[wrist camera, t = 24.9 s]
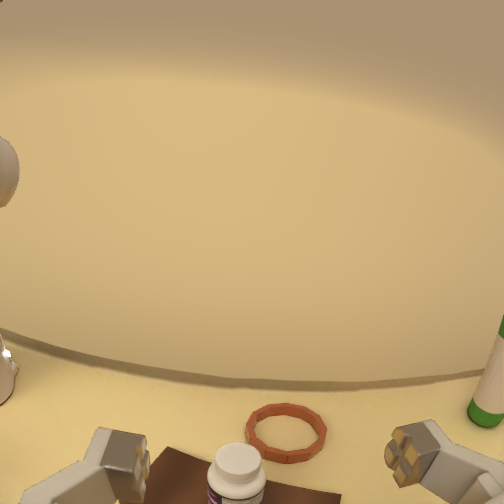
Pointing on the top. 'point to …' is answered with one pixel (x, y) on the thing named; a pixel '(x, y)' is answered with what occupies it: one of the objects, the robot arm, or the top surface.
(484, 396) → the wine bottle
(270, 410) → the ring
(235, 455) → the pill bottle
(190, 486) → the board
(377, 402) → the top surface
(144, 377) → the top surface
